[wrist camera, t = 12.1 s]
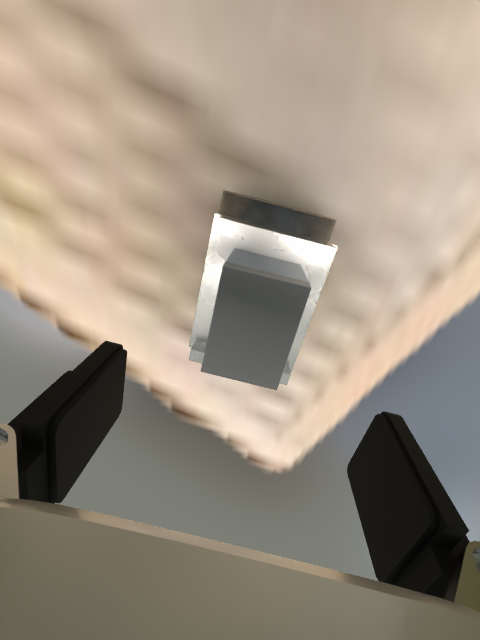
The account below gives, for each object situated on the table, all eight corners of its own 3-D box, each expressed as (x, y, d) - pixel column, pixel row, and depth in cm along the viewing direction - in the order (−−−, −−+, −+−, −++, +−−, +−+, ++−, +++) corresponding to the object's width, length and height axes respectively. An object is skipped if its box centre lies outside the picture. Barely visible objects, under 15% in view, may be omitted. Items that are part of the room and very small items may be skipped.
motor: (230, 191, 30) (206, 188, 18) (324, 216, 30) (361, 228, 18) (205, 313, 36) (173, 372, 24) (284, 334, 36) (293, 403, 24)
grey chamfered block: (234, 248, 22) (222, 265, 16) (300, 264, 22) (311, 287, 16) (216, 331, 24) (200, 371, 19) (274, 346, 24) (276, 390, 19)
